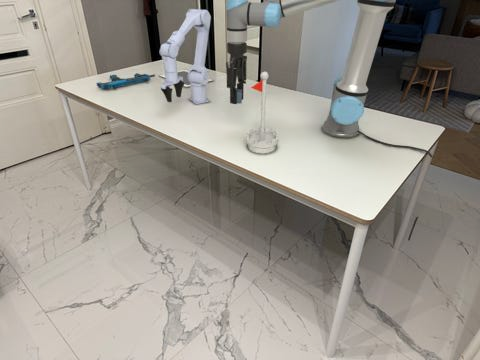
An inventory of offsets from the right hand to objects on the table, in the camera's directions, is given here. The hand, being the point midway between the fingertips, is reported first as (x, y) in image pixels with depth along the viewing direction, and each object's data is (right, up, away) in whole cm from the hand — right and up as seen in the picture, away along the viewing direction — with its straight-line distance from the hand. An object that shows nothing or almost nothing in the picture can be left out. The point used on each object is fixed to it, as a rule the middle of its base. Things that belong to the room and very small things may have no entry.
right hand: (236, 101), depth 141 cm
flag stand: (+10, -20, -4) cm, 22 cm away
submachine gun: (-70, +28, +69) cm, 102 cm away
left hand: (-31, +7, +24) cm, 40 cm away
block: (0, 0, 0) cm, 0 cm away
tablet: (-33, +32, +75) cm, 88 cm away
